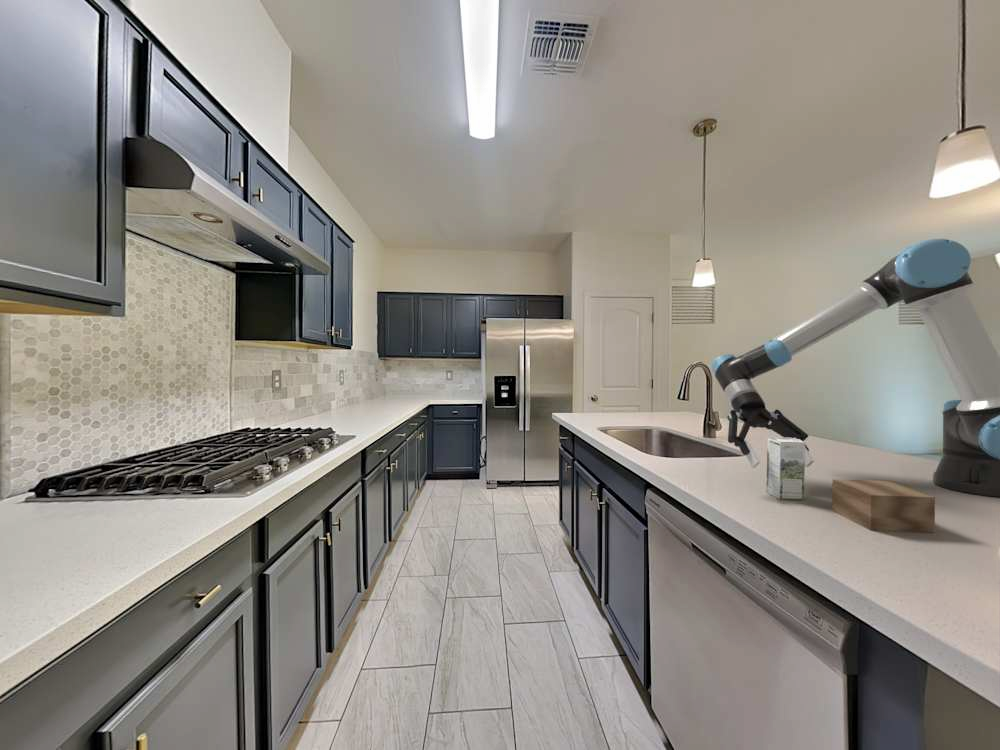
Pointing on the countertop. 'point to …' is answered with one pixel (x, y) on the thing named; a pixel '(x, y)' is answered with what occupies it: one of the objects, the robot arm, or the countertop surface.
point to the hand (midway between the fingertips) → (783, 464)
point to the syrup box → (785, 468)
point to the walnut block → (884, 506)
